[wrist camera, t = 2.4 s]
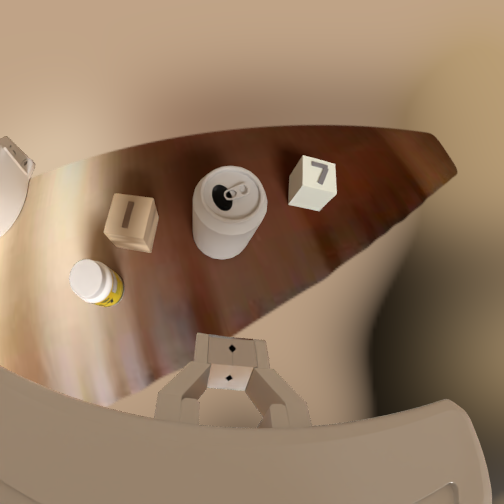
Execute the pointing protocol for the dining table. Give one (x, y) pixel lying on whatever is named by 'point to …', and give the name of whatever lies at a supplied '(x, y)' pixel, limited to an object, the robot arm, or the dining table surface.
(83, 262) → the supplement bottle
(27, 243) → the dining table surface
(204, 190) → the can
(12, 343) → the dining table surface
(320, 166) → the cream white block seven
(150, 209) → the birch block one
